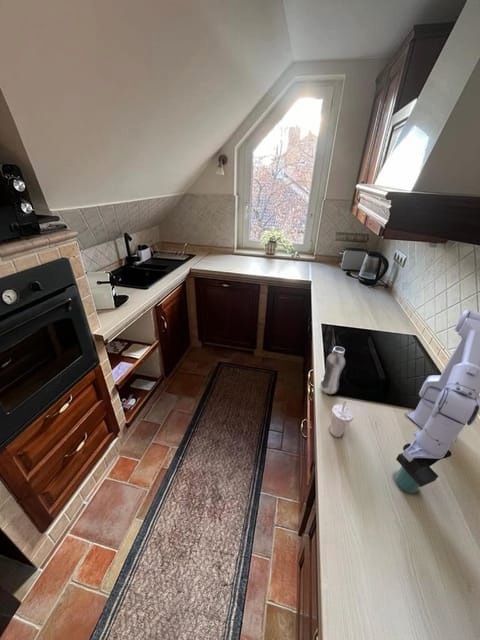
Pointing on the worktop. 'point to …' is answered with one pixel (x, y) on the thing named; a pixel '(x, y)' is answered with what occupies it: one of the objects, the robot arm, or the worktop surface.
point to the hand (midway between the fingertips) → (416, 466)
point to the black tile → (419, 473)
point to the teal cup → (406, 481)
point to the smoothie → (340, 419)
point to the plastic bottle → (333, 371)
